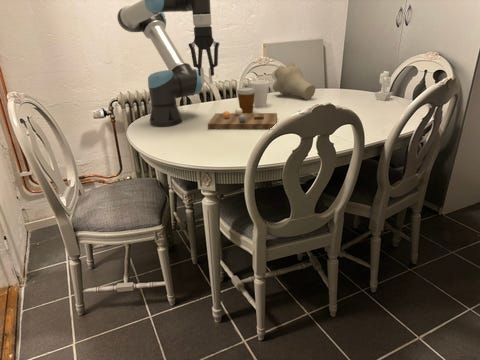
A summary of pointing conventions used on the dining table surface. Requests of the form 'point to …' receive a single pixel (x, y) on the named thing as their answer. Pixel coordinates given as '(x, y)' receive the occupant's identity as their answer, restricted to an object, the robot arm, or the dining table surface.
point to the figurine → (384, 87)
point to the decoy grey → (241, 118)
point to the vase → (292, 82)
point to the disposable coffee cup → (246, 99)
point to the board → (250, 123)
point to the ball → (226, 114)
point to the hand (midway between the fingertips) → (207, 83)
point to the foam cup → (260, 93)
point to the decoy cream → (238, 111)
